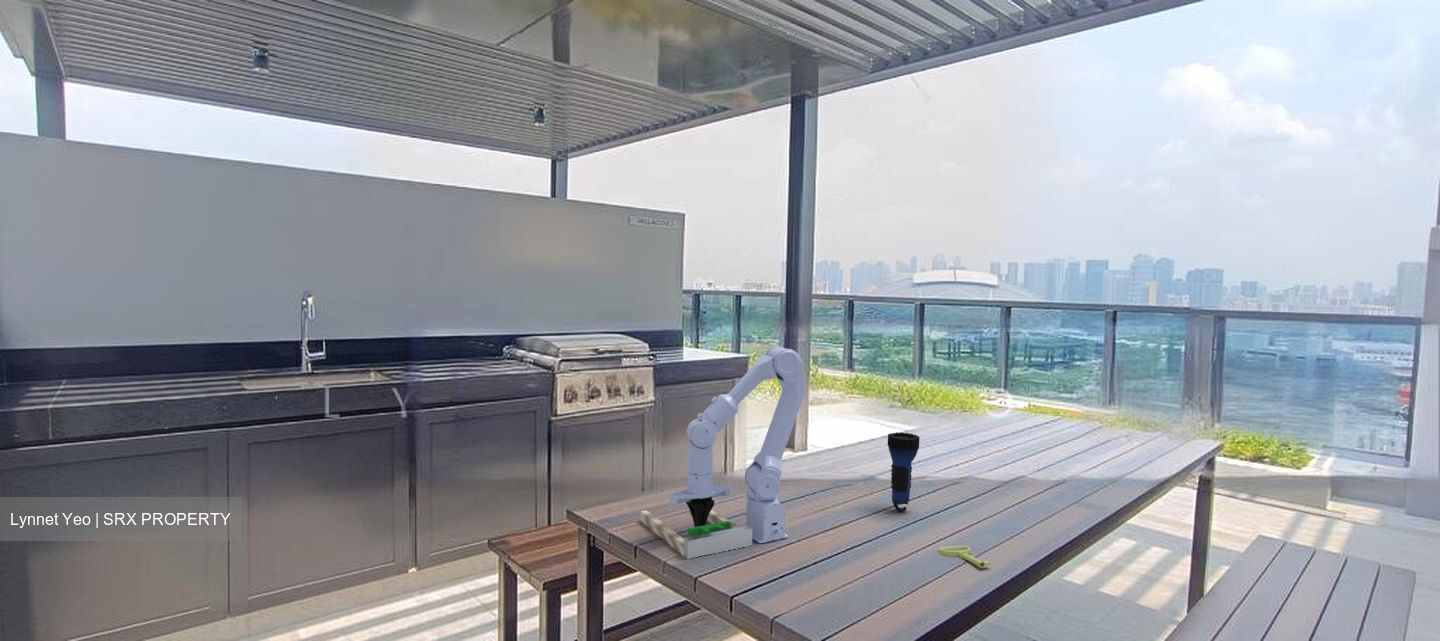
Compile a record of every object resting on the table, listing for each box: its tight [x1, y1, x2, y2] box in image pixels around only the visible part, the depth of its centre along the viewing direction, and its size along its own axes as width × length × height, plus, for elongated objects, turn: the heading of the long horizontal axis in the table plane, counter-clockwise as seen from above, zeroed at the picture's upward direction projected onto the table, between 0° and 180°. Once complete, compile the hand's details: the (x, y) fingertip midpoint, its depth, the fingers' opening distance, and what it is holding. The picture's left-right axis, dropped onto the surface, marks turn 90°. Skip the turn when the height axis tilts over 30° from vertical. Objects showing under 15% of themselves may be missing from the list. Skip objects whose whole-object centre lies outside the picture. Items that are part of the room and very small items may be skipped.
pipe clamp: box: [687, 520, 732, 537], centre depth 144 cm, size 10×4×4 cm, turn 120°
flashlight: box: [887, 432, 920, 512], centre depth 167 cm, size 8×8×20 cm
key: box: [938, 545, 992, 568], centre depth 139 cm, size 7×12×2 cm, turn 32°
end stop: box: [683, 525, 753, 560], centre depth 140 cm, size 2×16×4 cm, turn 119°
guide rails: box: [640, 509, 740, 557], centre depth 152 cm, size 24×16×2 cm, turn 29°
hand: (699, 530), depth 148 cm, fingers closed
